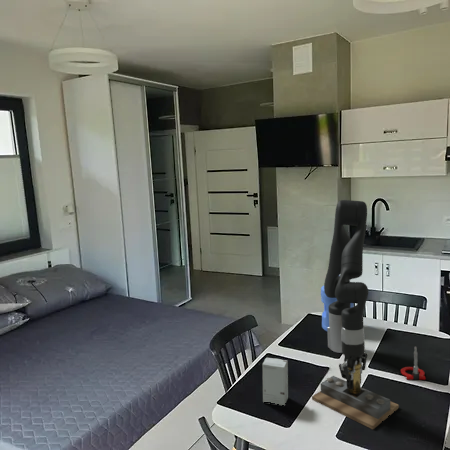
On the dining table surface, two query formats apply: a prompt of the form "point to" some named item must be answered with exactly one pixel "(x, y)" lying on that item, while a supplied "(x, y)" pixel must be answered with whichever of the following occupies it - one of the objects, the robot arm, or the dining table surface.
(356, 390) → the pin
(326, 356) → the dining table surface
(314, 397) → the board
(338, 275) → the robot arm
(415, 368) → the tow hook
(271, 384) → the skincare box
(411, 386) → the dining table surface
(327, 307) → the water jug
